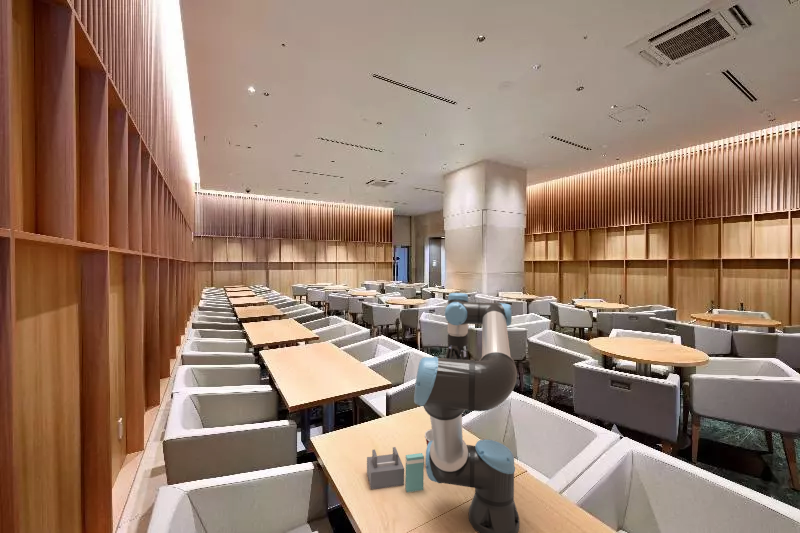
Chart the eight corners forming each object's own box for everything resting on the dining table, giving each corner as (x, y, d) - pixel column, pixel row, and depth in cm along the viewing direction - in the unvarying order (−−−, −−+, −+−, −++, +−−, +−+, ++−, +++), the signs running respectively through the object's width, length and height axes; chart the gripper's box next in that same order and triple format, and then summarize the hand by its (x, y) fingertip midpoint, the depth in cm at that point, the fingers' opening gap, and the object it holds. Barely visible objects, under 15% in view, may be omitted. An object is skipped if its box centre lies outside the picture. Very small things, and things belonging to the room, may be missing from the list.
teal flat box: (423, 490, 125) (424, 456, 124) (406, 492, 123) (407, 458, 123) (421, 486, 127) (422, 452, 126) (405, 488, 125) (405, 454, 125)
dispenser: (403, 485, 127) (404, 457, 127) (370, 489, 124) (371, 461, 124) (397, 468, 137) (398, 443, 137) (366, 472, 134) (367, 446, 134)
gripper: (481, 341, 122) (480, 402, 123) (454, 327, 147) (453, 378, 147) (461, 342, 121) (460, 404, 121) (437, 328, 145) (436, 379, 145)
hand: (456, 390), depth 134 cm, fingers open, 13 cm apart
